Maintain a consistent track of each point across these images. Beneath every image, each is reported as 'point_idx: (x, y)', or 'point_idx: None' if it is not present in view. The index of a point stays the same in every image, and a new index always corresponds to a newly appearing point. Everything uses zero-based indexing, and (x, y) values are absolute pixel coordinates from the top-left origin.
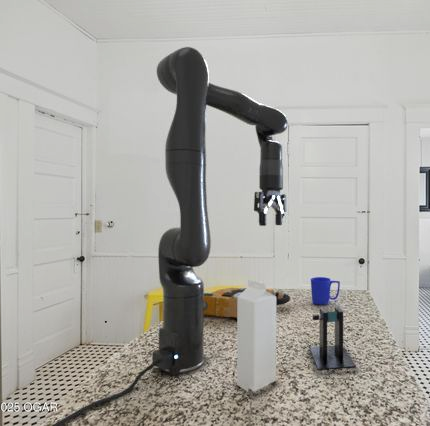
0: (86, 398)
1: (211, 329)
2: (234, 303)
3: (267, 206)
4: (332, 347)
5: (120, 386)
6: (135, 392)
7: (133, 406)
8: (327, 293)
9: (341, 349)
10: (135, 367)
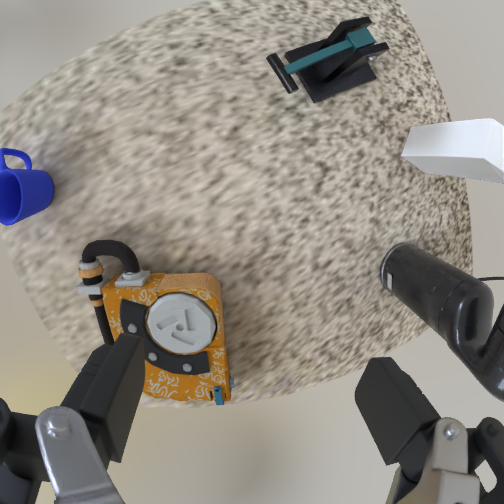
0: None
1: (280, 319)
2: (222, 329)
3: (462, 472)
4: None
5: None
6: None
7: (460, 250)
8: (31, 170)
9: None
10: (411, 312)
